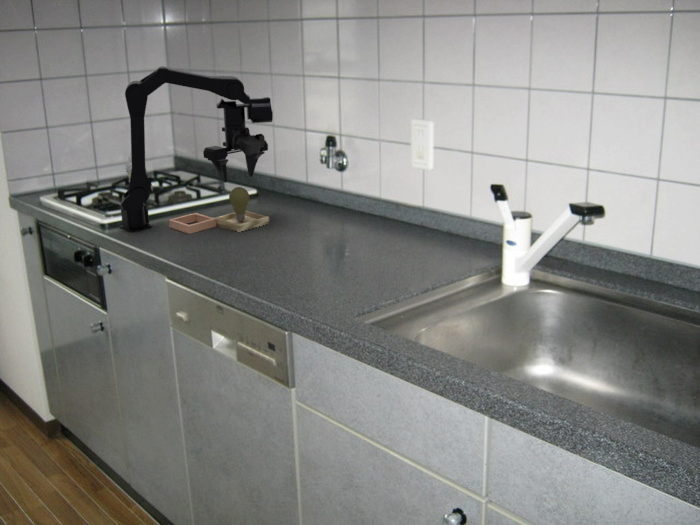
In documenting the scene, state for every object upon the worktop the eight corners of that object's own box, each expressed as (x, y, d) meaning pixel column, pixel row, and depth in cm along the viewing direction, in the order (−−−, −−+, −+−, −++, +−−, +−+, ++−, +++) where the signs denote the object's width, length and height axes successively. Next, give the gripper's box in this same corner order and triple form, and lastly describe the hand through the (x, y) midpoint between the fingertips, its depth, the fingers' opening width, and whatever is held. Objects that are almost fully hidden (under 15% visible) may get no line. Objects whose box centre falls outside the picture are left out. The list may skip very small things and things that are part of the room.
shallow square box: (189, 234, 209) (188, 226, 208) (169, 227, 215) (168, 219, 214) (216, 226, 215) (215, 218, 215) (196, 220, 221) (195, 212, 221)
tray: (239, 232, 210) (238, 225, 209) (213, 224, 217) (213, 218, 216) (269, 223, 217) (269, 217, 217) (243, 216, 224) (243, 209, 224)
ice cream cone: (127, 194, 249) (122, 148, 244) (143, 192, 251) (138, 147, 246) (130, 198, 245) (125, 151, 239) (146, 196, 247) (141, 149, 241)
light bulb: (227, 223, 215) (225, 189, 211) (235, 218, 220) (233, 184, 216) (245, 225, 213) (243, 190, 210) (253, 219, 218) (252, 185, 215)
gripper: (225, 132, 200) (229, 190, 205) (279, 122, 213) (282, 178, 218) (200, 127, 207) (204, 183, 213) (254, 118, 220) (256, 172, 225)
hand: (238, 179), depth 217 cm, fingers open, 9 cm apart
